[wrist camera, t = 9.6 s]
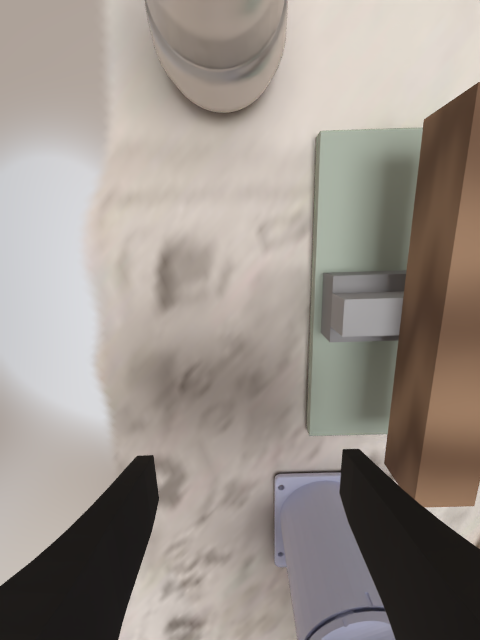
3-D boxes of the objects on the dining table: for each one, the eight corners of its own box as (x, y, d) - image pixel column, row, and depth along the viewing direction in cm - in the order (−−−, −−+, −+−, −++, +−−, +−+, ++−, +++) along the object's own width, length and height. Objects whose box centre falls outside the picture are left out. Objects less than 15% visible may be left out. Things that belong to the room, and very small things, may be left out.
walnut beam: (434, 462, 17) (474, 506, 14) (384, 463, 17) (413, 507, 14) (491, 117, 13) (567, 79, 10) (423, 119, 13) (478, 82, 10)
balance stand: (435, 424, 22) (490, 474, 17) (306, 427, 22) (324, 478, 17) (483, 132, 17) (578, 87, 12) (316, 137, 17) (346, 95, 12)
